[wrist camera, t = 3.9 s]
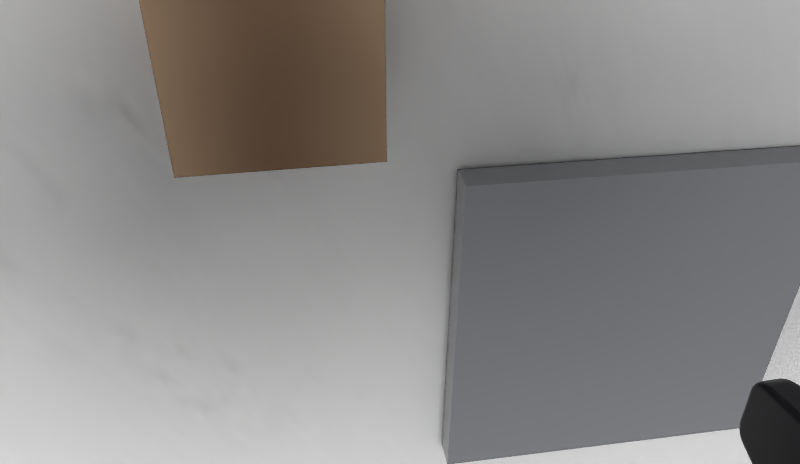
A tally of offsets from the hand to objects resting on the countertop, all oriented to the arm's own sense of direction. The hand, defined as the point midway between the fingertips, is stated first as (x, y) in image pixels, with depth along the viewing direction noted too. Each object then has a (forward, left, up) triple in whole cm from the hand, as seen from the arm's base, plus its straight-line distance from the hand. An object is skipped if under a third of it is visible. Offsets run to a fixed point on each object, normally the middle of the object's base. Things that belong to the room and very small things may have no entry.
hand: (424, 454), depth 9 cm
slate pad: (-9, +9, -12) cm, 18 cm away
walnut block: (+2, -2, -12) cm, 13 cm away
